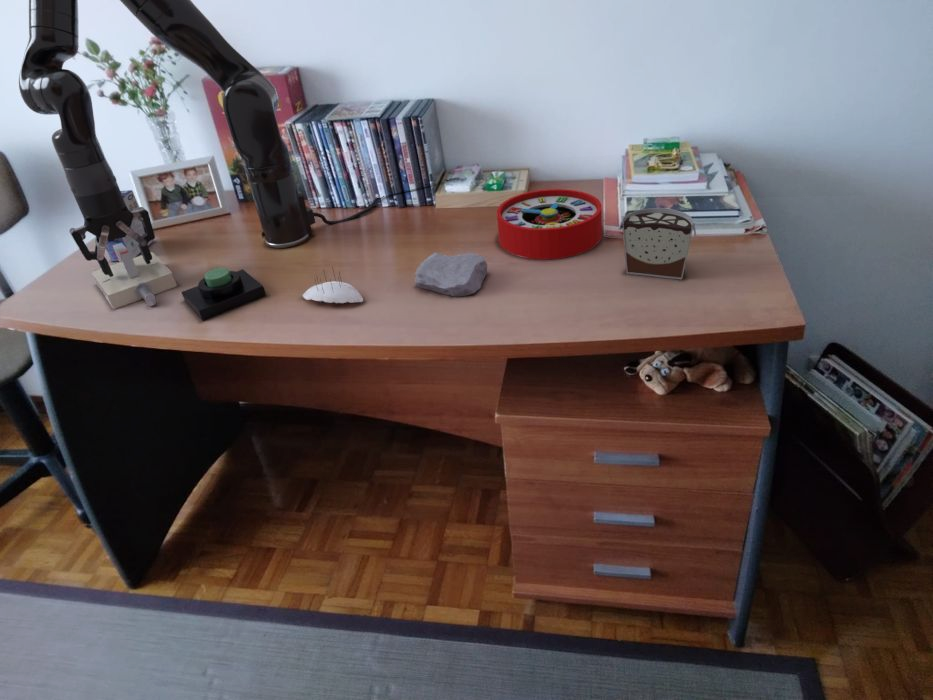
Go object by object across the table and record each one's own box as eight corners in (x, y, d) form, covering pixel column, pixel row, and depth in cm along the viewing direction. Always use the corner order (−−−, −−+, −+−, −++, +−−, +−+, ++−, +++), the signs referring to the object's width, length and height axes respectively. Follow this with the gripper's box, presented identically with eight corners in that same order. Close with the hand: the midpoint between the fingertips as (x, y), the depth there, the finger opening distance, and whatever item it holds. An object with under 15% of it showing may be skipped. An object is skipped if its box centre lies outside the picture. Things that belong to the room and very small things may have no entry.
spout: (152, 293, 129) (147, 280, 127) (161, 302, 125) (155, 289, 123) (138, 298, 127) (132, 285, 126) (145, 308, 124) (140, 295, 122)
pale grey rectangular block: (122, 268, 133) (111, 244, 130) (131, 265, 134) (121, 241, 131) (130, 278, 129) (119, 254, 126) (139, 275, 130) (129, 250, 127)
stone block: (475, 306, 116) (491, 269, 122) (470, 285, 113) (486, 248, 119) (413, 303, 120) (431, 267, 126) (405, 282, 117) (425, 247, 123)
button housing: (246, 279, 131) (240, 260, 128) (266, 296, 124) (260, 276, 121) (185, 302, 125) (177, 283, 123) (202, 321, 118) (195, 301, 116)
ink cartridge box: (132, 242, 153) (106, 180, 145) (154, 241, 152) (130, 178, 144) (109, 262, 145) (80, 197, 137) (132, 260, 144) (105, 196, 136)
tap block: (157, 264, 141) (151, 250, 139) (177, 286, 131) (171, 271, 129) (97, 285, 135) (90, 271, 134) (113, 309, 126) (107, 294, 124)
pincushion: (294, 306, 119) (286, 277, 116) (312, 289, 124) (304, 261, 121) (354, 312, 115) (348, 282, 112) (370, 294, 120) (364, 266, 117)
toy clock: (582, 234, 118) (479, 224, 126) (582, 264, 121) (482, 252, 129) (614, 192, 132) (520, 185, 140) (614, 220, 135) (522, 212, 144)
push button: (226, 274, 125) (224, 265, 124) (235, 281, 122) (232, 272, 121) (203, 282, 123) (200, 273, 122) (212, 290, 120) (208, 281, 119)
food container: (697, 264, 117) (702, 209, 111) (691, 280, 112) (696, 224, 107) (626, 257, 122) (628, 204, 116) (617, 272, 117) (619, 218, 112)
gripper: (129, 171, 128) (161, 251, 137) (48, 193, 121) (86, 276, 130) (140, 179, 123) (171, 262, 132) (55, 203, 116) (95, 288, 125)
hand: (129, 268), depth 131 cm, fingers open, 6 cm apart
